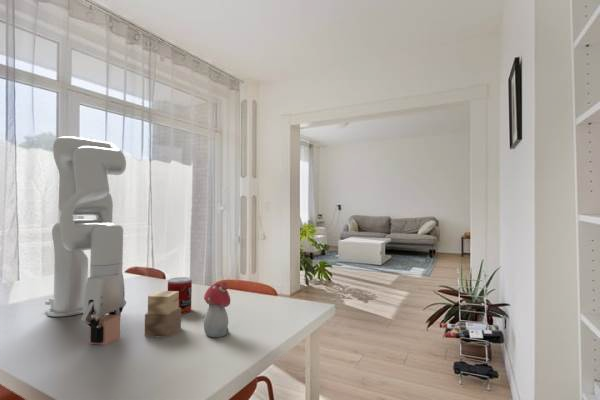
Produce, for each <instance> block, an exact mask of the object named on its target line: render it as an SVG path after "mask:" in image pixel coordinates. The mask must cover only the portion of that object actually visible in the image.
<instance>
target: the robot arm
mask: <svg viewBox="0 0 600 400" xmlns="http://www.w3.org/2000/svg"><path fill="white" fill-rule="evenodd" d="M52 153H53V159H54V161H55V166H56V168H57V170H58V174H59V181H58V183H59V185H58V186H59V187H58V208H59V209H58V210H59V212H60V215H59V216H60V217H59V221H57V222H55V224H54V225H53V226H52V230H51V237H52V241H53V249H54V250H53V251H54V266H53V267H54V270H53V272H54V277H53V279H54V280H53V297H50V298H49V299H48V300H46V301H45V304H44V305H45V306H50V308H49V309H48V310H47V313H46V314H47V316H49V317H56V318H58V317H59V318H60V317H69V316H71V317H72V316H74V315H79V314H80V315H81V314H83V315H82V317H81V319H80V320H81V321H82V322H84V323H85V324H87V326H88V328H89V329H90V328H91V342H92V343H102V342H103V327H101V326H102V321H103V317H104V315H105V314H107V315H120V318H121V317H122V312H123V310H124V308H125V306H126V304H127V301H126V298H125V281H124V273H123V258H124V257H123V255H124V228H123V226H122V225H120V224H116V223H113V209H114V205H113V203H114V202H113V197H112V195H111V193H110V187H109V186H110V185H109V178H108V175H113V176H120V175H122V174H123V173H124V172H125V171H126V166H127V161H126V157H125V154H124V153H123V151H122V150H121V149H120V148H119V147H117V146H116V145H115V144H114V143H112V142H109V141H108V142H107V141H102V140H97V139H90V138H85V137H84V138H83V137H77V136H59V137H57V138H56V139H54V141H53V147H52ZM74 216H75V217H76V216H79V217H80V216H84V217H87V216H94V217H95V219H94V218H93V219H91V218H89V219H83V218H82V219H81V218H79V219H74ZM88 250H90V258H88V256H87V255H86V253H85V252H84V251H88ZM89 259H90V261H89ZM89 262H90V264H89ZM89 265H90V266H89ZM89 267H90V268H89ZM97 317H98V321H96V320H95V319H96V318H97Z"/></svg>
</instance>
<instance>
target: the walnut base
mask: <svg viewBox="0 0 600 400" xmlns="http://www.w3.org/2000/svg"><path fill="white" fill-rule="evenodd" d="M181 328H182V314H181V308H178V309H177V310H175V311H173V312H172V313H170V314H169V315H158V314H148V312H147V313H145V314H144V336H145V337H156V336H159V337H160V338H169V337H171V335H173V334H174V333H176V332H177V331H178V330H180V329H181ZM159 337H158V338H159Z"/></svg>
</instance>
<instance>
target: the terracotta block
mask: <svg viewBox="0 0 600 400" xmlns="http://www.w3.org/2000/svg"><path fill="white" fill-rule="evenodd" d="M95 320H96V321H98V317H96V319H95ZM101 327H103V342H102V343H92V342H91V328H89V335H88V336H89V339H88V343H89V344H90V345H91V344H92V345H103V344H107V345H109V344H110V343H112V342H114V341H115V340H117V339H120V337H121V317H120V315H108V314H105V315H104V317H103V321H102V326H101ZM108 343H109V344H108Z"/></svg>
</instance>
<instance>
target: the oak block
mask: <svg viewBox="0 0 600 400" xmlns="http://www.w3.org/2000/svg"><path fill="white" fill-rule="evenodd" d="M178 308H179V291H168V290H158V291H157V292H153V293H151V294H149V295H147V313H148V314H158V315H169V314H170V313H172V312H173V311H175V310H177V309H178Z"/></svg>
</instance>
